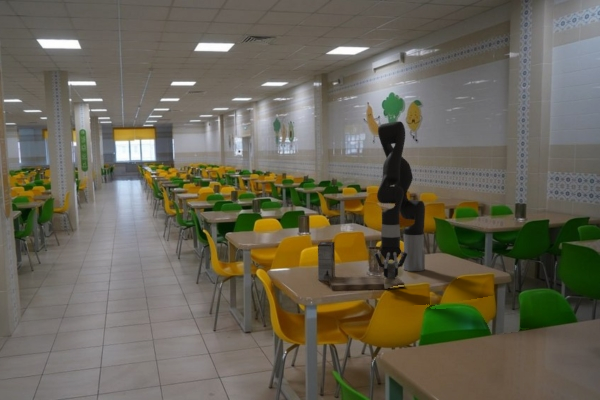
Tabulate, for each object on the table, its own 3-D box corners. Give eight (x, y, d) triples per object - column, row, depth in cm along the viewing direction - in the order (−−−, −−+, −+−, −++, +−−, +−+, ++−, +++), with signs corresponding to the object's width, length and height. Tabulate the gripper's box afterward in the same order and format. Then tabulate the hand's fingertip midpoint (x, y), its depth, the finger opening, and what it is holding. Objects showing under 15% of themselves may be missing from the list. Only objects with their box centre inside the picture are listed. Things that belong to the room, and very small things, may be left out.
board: (396, 280, 230) (396, 275, 230) (404, 288, 216) (404, 283, 216) (328, 282, 228) (328, 277, 228) (332, 290, 214) (331, 285, 214)
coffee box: (321, 275, 240) (320, 241, 239) (335, 276, 239) (334, 241, 238) (318, 280, 232) (317, 244, 230) (332, 281, 230) (332, 244, 229)
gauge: (390, 281, 226) (390, 258, 225) (397, 288, 213) (397, 264, 212) (378, 281, 226) (378, 258, 225) (385, 289, 213) (385, 264, 212)
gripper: (405, 233, 217) (405, 274, 218) (371, 234, 216) (371, 275, 218) (410, 236, 209) (409, 278, 211) (375, 237, 209) (375, 279, 210)
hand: (390, 276), depth 214 cm, fingers closed on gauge, 3 cm apart
